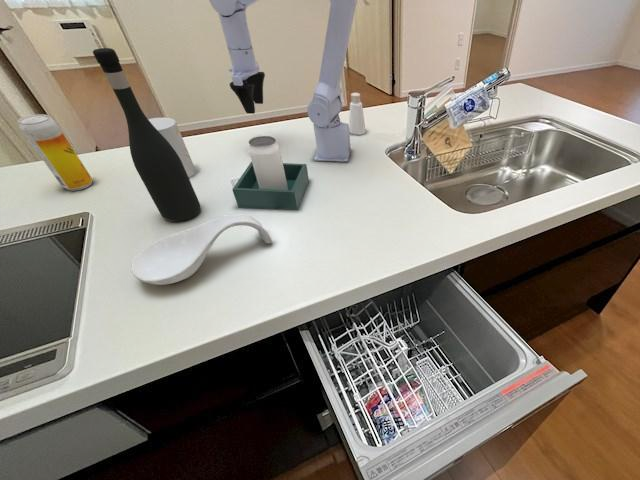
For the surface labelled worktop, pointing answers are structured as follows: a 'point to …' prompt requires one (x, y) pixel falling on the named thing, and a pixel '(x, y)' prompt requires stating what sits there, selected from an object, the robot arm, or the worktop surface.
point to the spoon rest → (186, 250)
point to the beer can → (55, 151)
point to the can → (267, 163)
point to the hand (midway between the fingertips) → (255, 108)
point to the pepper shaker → (356, 116)
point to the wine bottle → (151, 149)
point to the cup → (174, 141)
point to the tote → (255, 197)
